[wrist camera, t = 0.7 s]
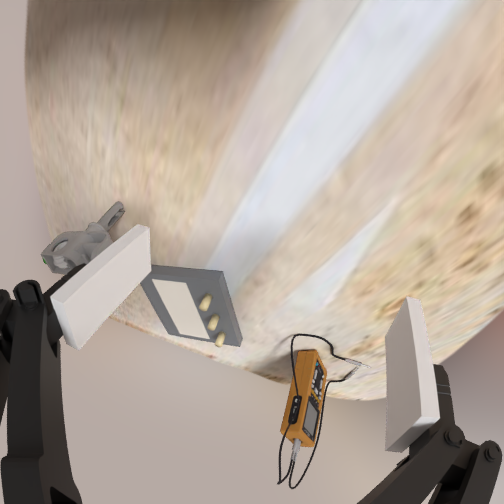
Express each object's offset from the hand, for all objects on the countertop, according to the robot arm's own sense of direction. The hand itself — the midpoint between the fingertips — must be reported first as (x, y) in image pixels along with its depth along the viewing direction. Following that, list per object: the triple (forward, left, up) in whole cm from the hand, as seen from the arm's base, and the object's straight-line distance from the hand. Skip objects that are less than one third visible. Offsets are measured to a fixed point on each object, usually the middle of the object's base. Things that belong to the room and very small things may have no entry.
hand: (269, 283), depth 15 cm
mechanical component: (+5, -21, -14) cm, 26 cm away
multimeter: (+31, +4, -14) cm, 34 cm away
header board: (+21, -16, -14) cm, 30 cm away
